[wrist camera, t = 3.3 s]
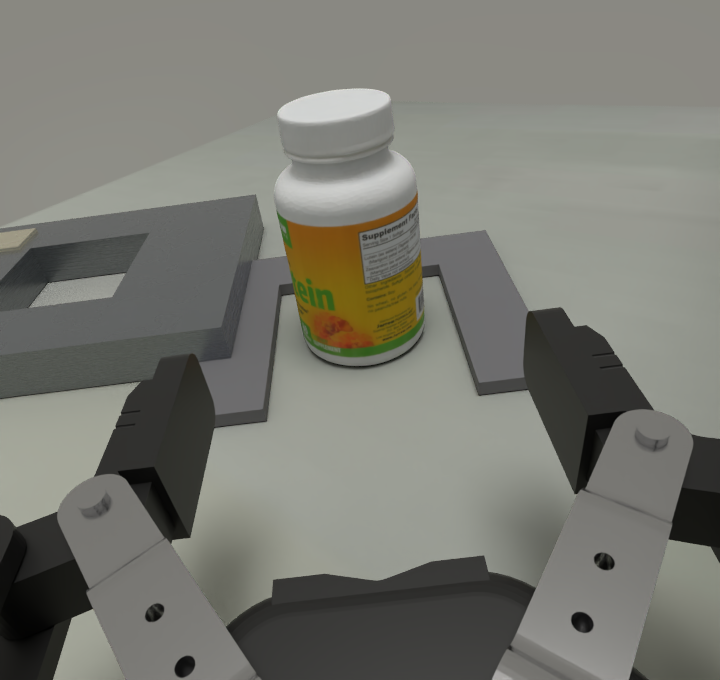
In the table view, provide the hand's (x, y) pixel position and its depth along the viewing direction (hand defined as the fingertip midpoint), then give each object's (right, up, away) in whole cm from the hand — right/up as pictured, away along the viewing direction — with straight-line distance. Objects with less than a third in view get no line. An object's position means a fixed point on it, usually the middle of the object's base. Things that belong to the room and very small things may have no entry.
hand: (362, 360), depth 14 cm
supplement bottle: (0, +1, +11) cm, 11 cm away
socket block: (-15, +2, +16) cm, 22 cm away
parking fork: (0, +1, +11) cm, 11 cm away
